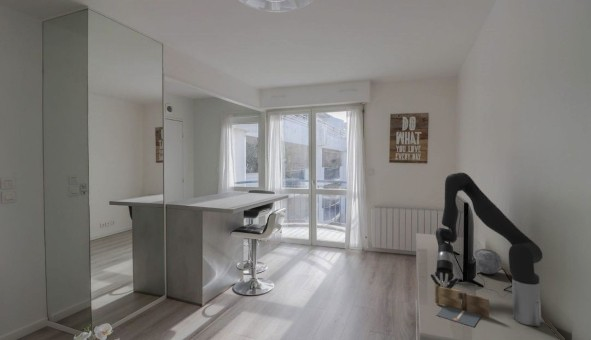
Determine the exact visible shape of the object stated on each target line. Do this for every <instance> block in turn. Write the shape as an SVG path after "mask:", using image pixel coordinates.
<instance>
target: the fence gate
mask: <svg viewBox="0 0 591 340" xmlns="http://www.w3.org/2000/svg"><path fill="white" fill-rule="evenodd" d="M434 296H435V298H434V299H435V300H434V302H435V304H439V305H442V306H445V305H447V306H451V307H456V308H460V309H461V305H462V290H460V289H454V288H451V289H450V288H445V287H444V286H443V287H440V286H439V285H436V284H434Z"/></svg>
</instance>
